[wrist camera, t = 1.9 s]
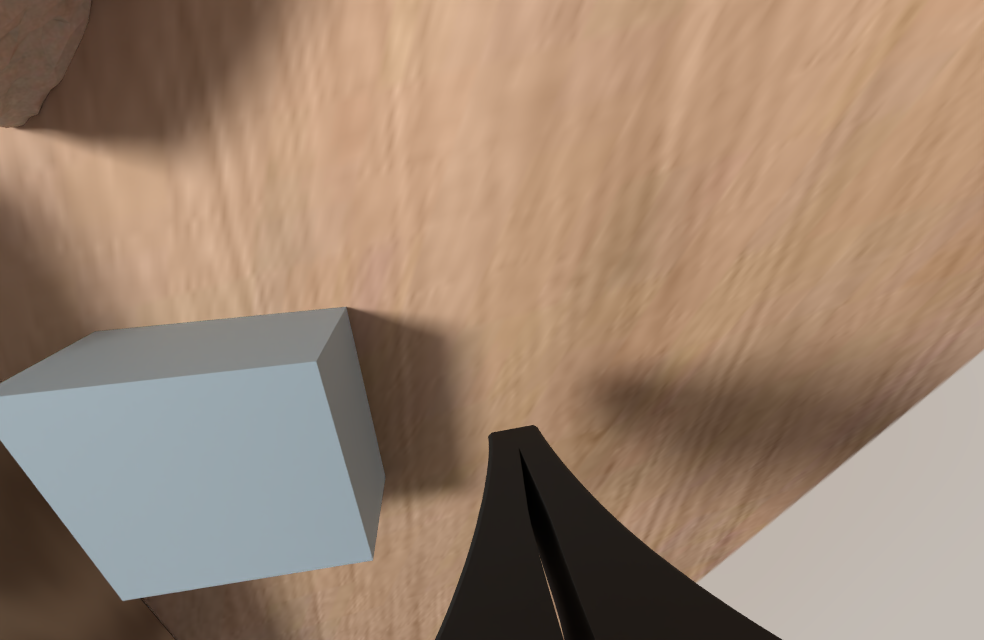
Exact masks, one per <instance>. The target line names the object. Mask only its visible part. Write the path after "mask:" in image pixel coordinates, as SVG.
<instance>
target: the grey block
mask: <svg viewBox="0 0 984 640" xmlns="http://www.w3.org/2000/svg"><path fill="white" fill-rule="evenodd" d="M0 440H1V442H2V443H3V444H4V446H5V447H6V448H7V450H8V451H9V452H10V453H11V455H12V456H13V457H14V459H15V460H16V461H17V463H18V464H19V465H20V467H21V468H22V469H23V471H24V472H25V473H26V475H27V476H28V477H29V478H30V480H31V481H32V482H33V484H34V485H35V486H36V488H37V489H38V490H39V492H40V493H41V494H42V496H43V497H44V498H45V499H46V501H47V502H48V503H49V505H50V506H51V507H52V509H53V510H54V511H55V513H56V514H57V515H58V517H59V518H60V519H61V521H62V522H63V523H64V524H65V526H66V527H67V528H68V530H69V531H70V532H71V534H72V535H73V536H74V538H75V539H76V540H77V542H78V543H79V544H80V545H81V547H82V548H83V549H84V551H85V552H86V553H87V555H88V556H89V557H90V559H91V560H92V561H93V563H94V564H95V565H96V567H97V568H98V569H99V570H100V572H101V573H102V574H103V576H104V577H105V578H106V580H107V581H108V582H109V584H110V585H111V586H112V588H113V589H114V590H115V592H116V593H117V594H118V595H119V597H120V598H121V599H122V601H125V600H132V599H138V598H144V597H150V596H156V595H162V594H168V593H175V592H181V591H187V590H193V589H199V588H205V587H212V586H218V585H224V584H230V583H236V582H242V581H248V580H255V579H261V578H267V577H273V576H279V575H285V574H292V573H298V572H304V571H310V570H316V569H322V568H328V567H335V566H341V565H347V564H353V563H359V562H365V561H372V560H373V557H374V550H375V543H376V537H377V530H378V523H379V517H380V510H381V504H382V497H383V490H384V484H385V473H384V468H383V464H382V460H381V455H380V451H379V447H378V442H377V438H376V434H375V429H374V425H373V421H372V416H371V412H370V408H369V403H368V399H367V395H366V390H365V386H364V382H363V377H362V373H361V369H360V364H359V360H358V356H357V351H356V347H355V343H354V338H353V334H352V330H351V325H350V321H349V317H348V312H347V308H346V307H339V308H329V309H319V310H309V311H299V312H289V313H278V314H268V315H258V316H248V317H238V318H227V319H217V320H207V321H197V322H187V323H177V324H166V325H156V326H146V327H136V328H126V329H116V330H105V331H95V332H93V333H91V334H89V335H88V336H86V337H84V338H82V339H80V340H78V341H77V342H75V343H73V344H71V345H69V346H67V347H66V348H64V349H62V350H60V351H58V352H56V353H55V354H53V355H51V356H49V357H47V358H46V359H44V360H42V361H40V362H38V363H36V364H35V365H33V366H31V367H29V368H27V369H25V370H24V371H22V372H20V373H18V374H16V375H14V376H13V377H11V378H9V379H7V380H5V381H3V382H2V383H0Z"/></svg>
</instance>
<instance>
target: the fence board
mask: <svg viewBox="0 0 984 640" xmlns="http://www.w3.org/2000/svg"><path fill="white" fill-rule="evenodd" d="M0 640H175V639H174V638H173V636H172V635H171V634H170V633H169V632H168V631H167V629H166V628H165V627H164V626H163V625H162V624H161V622H160V621H159V620H158V619H157V618H156V617H155V615H154V614H153V613H152V612H151V611H150V609H149V608H148V607H147V606H146V605H145V604H144V602H143V601H142V600H141V599H140V598H138V599H132V600H125V601H122V599H121V598H120V597H119V595H118V594H117V593H116V592H115V590H114V589H113V588H112V586H111V585H110V584H109V582H108V581H107V580H106V578H105V577H104V576H103V574H102V573H101V572H100V570H99V569H98V568H97V567H96V565H95V564H94V563H93V561H92V560H91V559H90V557H89V556H88V555H87V553H86V552H85V551H84V549H83V548H82V547H81V545H80V544H79V543H78V542H77V540H76V539H75V538H74V536H73V535H72V534H71V532H70V531H69V530H68V528H67V527H66V526H65V524H64V523H63V522H62V521H61V519H60V518H59V517H58V515H57V514H56V513H55V511H54V510H53V509H52V507H51V506H50V505H49V503H48V502H47V501H46V499H45V498H44V497H43V496H42V494H41V493H40V492H39V490H38V489H37V488H36V486H35V485H34V484H33V482H32V481H31V480H30V478H29V477H28V476H27V475H26V473H25V472H24V471H23V469H22V468H21V467H20V465H19V464H18V463H17V461H16V460H15V459H14V457H13V456H12V455H11V453H10V452H9V451H8V450H7V448H6V447H5V446H4V444H3V443H2V442H1V440H0Z"/></svg>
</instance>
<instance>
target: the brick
mask: <svg viewBox="0 0 984 640" xmlns="http://www.w3.org/2000/svg"><path fill="white" fill-rule="evenodd" d="M90 6H91V0H0V127H5V128H9V127H16V126H22V125H24V124H25V123H26V121H27V120H28V119H29V118H30V117H32V116H35V115H37V114H39V111H40V108H41V106H42V103H43V101H44V100H45V98H46V97H47V95H48V93H49V92H50V90H51V89H52V88H54V87H55V86H57V85H58V84H59V82H60V81H61V80H62V79H63V77H64V75H65V73H66V70H67V68H68V66H69V64H70V62H71V60H72V58H73V56H74V54H75V51H76V49H77V47H78V46H79V44H80V41H81V39H82V37H83V35H84V32H85V29H86V26H87V24H88V21H89V13H90Z"/></svg>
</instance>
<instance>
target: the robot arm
mask: <svg viewBox="0 0 984 640" xmlns="http://www.w3.org/2000/svg"><path fill="white" fill-rule="evenodd" d="M488 440H489V459H488V468H487V476H486V482H485V488H484V494H483V499H482V503H481V507H480V512H479V516H478V520H477V524H476V528H475V532H474V535H473V539H472V542H471V546H470V549H469V552H468V555H467V558H466V562H465V565H464V568H463V571H462V573H461V576H460V579H459V582H458V584H457V587H456V590H455V593H454V595H453V598H452V601H451V603H450V606H449V608H448V611H447V613H446V616H445V618H444V620H443V623H442V625H441V627H440V630H439V632H438V634H437V636H436V639H435V640H782V639H780V638H779V637H777V636H775V635H774V634H772V633H771V632H769V631H767V630H766V629H764V628H762V627H761V626H759V625H758V624H756V623H754V622H753V621H751V620H750V619H748V618H747V617H745V616H744V615H742V614H741V613H739V612H737V611H736V610H734V609H733V608H731V607H730V606H728V605H727V604H725V603H724V602H722V601H721V600H719V599H718V598H717V597H715V596H714V595H712V594H711V593H709V592H708V591H706V590H705V589H703V588H702V587H701V586H699V585H698V584H696V583H695V582H694V581H692V580H691V579H690V578H688V577H687V576H686V575H684V574H683V573H682V572H680V571H679V570H678V569H676V568H675V567H674V566H672V565H671V564H670V563H669V562H667V561H666V560H665V559H663V558H662V557H661V556H659V555H658V554H657V553H655V552H654V551H653V550H652V549H650V548H649V547H648V546H647V545H646V544H644V543H643V542H642V541H641V540H640V539H638V538H637V537H636V536H635V535H634V534H633V533H631V532H630V531H629V530H628V529H627V528H626V527H625V526H624V525H622V524H621V523H620V522H619V521H618V520H617V519H616V518H615V517H614V516H613V515H612V514H611V513H610V512H608V511H607V510H606V509H605V508H604V507H603V506H602V505H601V504H600V503H599V502H598V501H597V500H596V499H595V498H594V497H593V496H592V495H591V493H590V492H589V491H588V490H587V489H586V488H585V487H584V486H583V485H582V484H581V483H580V482H579V481H578V479H577V478H576V477H575V476H574V475H573V474H572V473H571V471H570V470H569V469H568V468H567V467H566V466H565V464H564V463H563V462H562V461H561V460H560V458H559V457H558V456H557V454H556V453H555V452H554V451H553V449H552V448H551V447H550V445H549V444H548V443H547V441H546V440H545V438H544V437H543V435H542V434H541V432H540V431H539V429H538V428H537V427H536V426H534V425H531V426H525V427H520V428H515V429H509V430H504V431H498V432H493V433H491V434H490V435H489V436H488ZM539 555H540V556H539ZM540 558H541V560H540ZM541 561H542V563H541ZM542 565H543V567H542ZM543 568H544V570H543ZM544 571H545V574H546V577H547V580H548V583H549V586H550V589H551V592H552V595H553V598H554V602H555V605H556V609H557V612H558V616H559V619H560V623H561V627H562V631H563V636H564V639H563V636H562V632H561V629H560V626H559V622H558V619H557V615H556V612H555V609H554V605H553V602H552V598H551V595H550V591H549V588H548V584H547V581H546V577H545V574H544Z"/></svg>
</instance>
